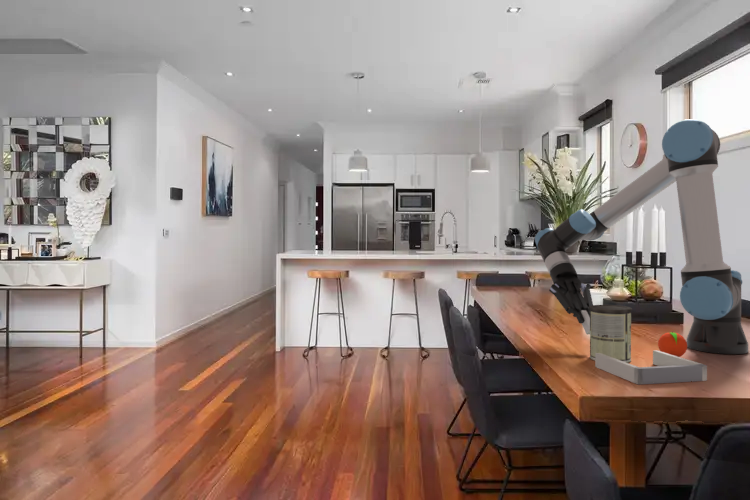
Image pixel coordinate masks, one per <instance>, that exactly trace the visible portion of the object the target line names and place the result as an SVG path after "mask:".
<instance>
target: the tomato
mask: <svg viewBox="0 0 750 500" xmlns="http://www.w3.org/2000/svg"><path fill="white" fill-rule="evenodd" d="M657 346H658V347H657V348H658V350H659V351H661V352H664V353H668V354H671V355H674V356H678V357H681V358H682V356H683V355H685V354H686V352H687V350H688V347H687V342H686V339H685V337H684V336H683V335H681V334H680V333H678V332H674V331H670V332H665V333H664V334H662V335H661V336H660V337H659V339H658V342H657Z"/></svg>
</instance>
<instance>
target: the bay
mask: <svg viewBox="0 0 750 500" xmlns="http://www.w3.org/2000/svg"><path fill="white" fill-rule="evenodd" d="M594 361H595V362H594V363H595V368H597V369H599V370H601V371H604V372H606V373H609V374H612V375H613V376H615V377H616V376H617V377H618V378H621V379H624V380H625V381H628V382H631V383H633V384H636V385H652V384H653V385H654V384H670V383H673V384H674V383H686V382H687V383H690V382H691V381H692V382H705V381H706V382H707V381H708V365H707V364H704V363H701V362H697V361H693V360H691V359H687V358H684V357H682V356H681V357H678V356H674V355H671V354H668V353H664V352H661V351H660V350H659V349H658V350H654V349H653V350H652V364H653V365H655V366H638V365H637V366H636V365H635V364H631V363H630V362H629V363H626V362H623V361H621V360H618V359H615V358H612V357H610V356H607V355H604V354H601V353H595V360H594Z"/></svg>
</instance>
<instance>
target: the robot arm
mask: <svg viewBox="0 0 750 500" xmlns="http://www.w3.org/2000/svg"><path fill="white" fill-rule="evenodd" d="M661 147H662V148H661V149H662V152H663V155H662V160H660V161H659V162H657V163H656V164H655V165H653V166H652V167H651V168H650V169H648V170H647V171H645V172H644V173H643V174H642V175H640V176H638V177H637V178H636V179H634V180H633V181H632V182H631V183H628V185H626V186H625V187H624V188H623V189H621V190H619V191H618V192H617V193H616V194H614V195H613V196H612V197H611V198H608V200H606V201H605V202H604V203H602V204H601V205H600V206H598V207H597V208H595V209H594V210H593V211H592V212H590V213H589V212H588V211H586V210H585V209H578V210H577V211H575V212H574V213H572V214H570V215H569V217H568V218H566V219H565V220H564V221H563V222H562V223H561V224H559V225H558V226H556V227H555V228H551V227H550V228H549V227H547V228H544V229H542V230H539V231H538V232H537V233H536V235H535V237H534V243H535V244H536V249H537V250H538V252H539V254H540V256H541V258H542V260H543V263H544V265H545V267H546V269H547V271H548V274H549V276H550V277H551V280H552V283H553V284H551V286H550V287H549V289H548V291H549V292H550V293H551V294H552V295H554V297H555V298H556V299H557V301H558V302H559V303H560V305H561V306H562V307H563V309H564V310H565V311H566V313H567V314H569V315H571V314H572V316H573V318H576V319H577V322H578V323H579V324H580V325H582V328H583V330H584V332H585V334H586V335H590V308H589V307H590V306H592V305H594V303H593V298H592V294H591V284H590V283H586V284H585V283H583V281H581V279H579V277H578V272H577V271H576V269H575V266H574V265H573V262H572V260H571V259H570V257H569V255H568V252H567V250H568V249H569V248H571V247H572V246H574V244H575V243H578V241H596V240H597V239H600V238H601V237H603V235H604V234H605V232H606V231H607V230H609V229H610V228H611V227H613V226H615V225H616V224H617V223H618V222H620V221H622V220H623V219H624V218H625V217H627V216H628V215H630V214H631V213H633V212H634V211H636V210H637V209H639V208H640V207H641V206H642V205H644V204H646V203H647V202H648V201H650V200H651V199H653V198H654V197H655V196H657V195H659V194H660V193H661V192H663V191H664V190H666V188H669V187H670V186H671V185H673V184H674V183H676V189H677V197H678V198H677V199H678V208H679V214H680V224H681V225H680V226H681V232H682V240H683V249H684V250H683V251H684V257H685V259H684V260H685V265H684V266H683V268H681V269H680V279H681V288H680V291H679V300H680V304H681V306H682V308H683V309H684V310H685V312H686V313H688V315H691V316H692V317H693V320H692V324H691V326H690V329H689V332H688V334H687V336H686V339H685V340H686V342H687V349H691V350H695V351H697V352H698V351H699V352H704V353H712V354H723V355H741V354H747V353H749V342H748V339H747V337H746V334H745V332H744V329H743V327H742V326H743V325H742V285H743V280H742V274H741V272H739V271H738V270H733V269H732V268H731V266H730V265H728V264H727V263H726V262H724V259H723V257H724V256H723V249H722V240H721V234H720V225H719V218H718V210H717V209H718V208H717V202H716V200H717V199H716V194H715V191H716V190H715V185H714V183H715V182H714V176H713V174H714V172H715V171H716V170H717V169H718V167H719V163H718V155H719V153H720V148H721V139H720V137H719V135H718V133H716V131H715V130H713V129H712V127H710V125H708V123H706V122H704V121H702V120H698V119H691V118H690V119H683V120H680V121H678V122H676V123H674V124H673V125H671V126H670V127H669V128H668V129H667V130H666V132H665V133H664V135H663V137H662V140H661Z"/></svg>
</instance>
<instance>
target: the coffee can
mask: <svg viewBox="0 0 750 500" xmlns="http://www.w3.org/2000/svg"><path fill="white" fill-rule="evenodd" d="M589 308H590V334H589V358H590V359H591V361H592V360H593V361H595V353H601V354H604V355H607V356H610V357H612V358H615V359H618V360H621V361H623V362H626V363H629V364H630V363H631V361H632V355H631V354H632V311H633V308H632V307H630V306H626V305H620V304H619V305H618V304H616V305H615V304H593V305H592V306H590V307H589Z"/></svg>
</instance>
